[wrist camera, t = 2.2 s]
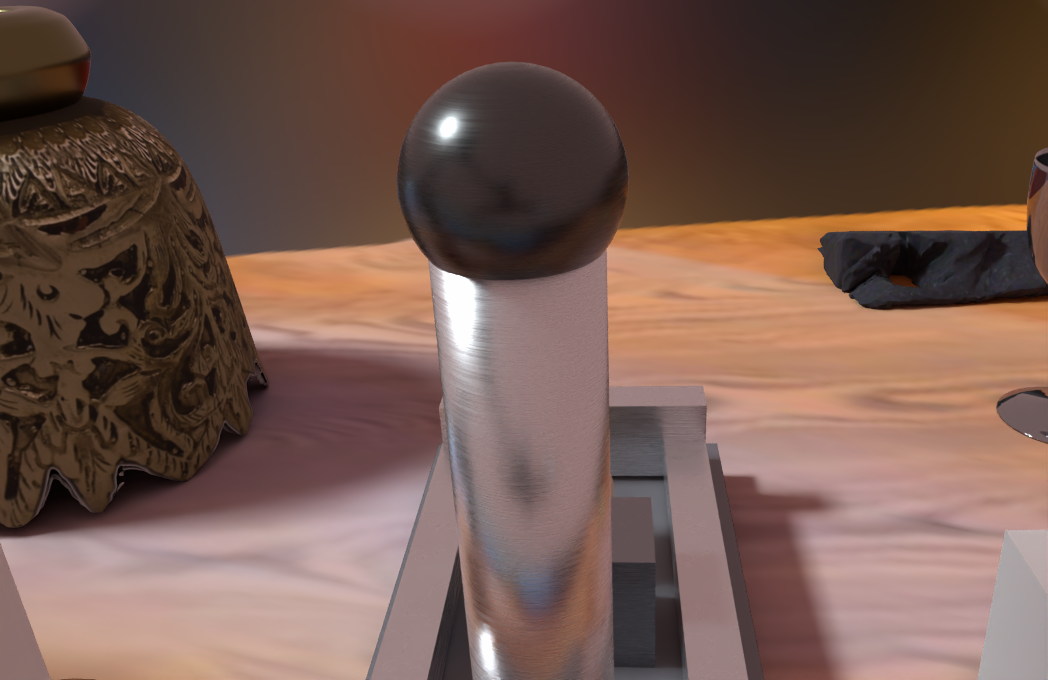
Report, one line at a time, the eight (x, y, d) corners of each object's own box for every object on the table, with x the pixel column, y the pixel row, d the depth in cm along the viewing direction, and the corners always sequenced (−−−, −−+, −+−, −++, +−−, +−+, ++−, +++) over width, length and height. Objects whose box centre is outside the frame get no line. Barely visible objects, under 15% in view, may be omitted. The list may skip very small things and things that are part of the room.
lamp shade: (-21, 360, 69) (-143, 7, 58) (290, 334, 70) (226, -17, 59) (-224, 559, 48) (-474, 62, 37) (226, 517, 49) (110, 23, 38)
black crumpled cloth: (1160, 312, 66) (1176, 250, 64) (845, 317, 68) (851, 257, 66) (1065, 241, 80) (1076, 188, 78) (805, 247, 82) (809, 195, 80)
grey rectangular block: (472, 664, 36) (461, 560, 33) (484, 594, 39) (475, 496, 37) (654, 667, 35) (655, 562, 33) (650, 596, 39) (650, 496, 36)
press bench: (281, 1030, 26) (269, 988, 25) (442, 474, 51) (438, 444, 50) (826, 1063, 25) (832, 1020, 24) (715, 475, 50) (716, 443, 49)
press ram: (328, 894, 27) (149, 99, 17) (452, 454, 49) (403, -12, 39) (777, 915, 26) (861, 70, 16) (700, 453, 48) (715, -28, 38)
